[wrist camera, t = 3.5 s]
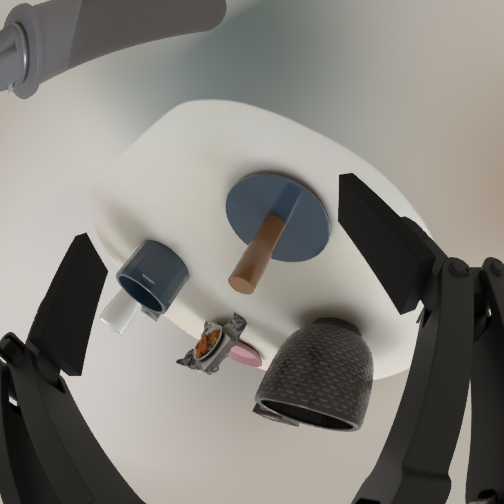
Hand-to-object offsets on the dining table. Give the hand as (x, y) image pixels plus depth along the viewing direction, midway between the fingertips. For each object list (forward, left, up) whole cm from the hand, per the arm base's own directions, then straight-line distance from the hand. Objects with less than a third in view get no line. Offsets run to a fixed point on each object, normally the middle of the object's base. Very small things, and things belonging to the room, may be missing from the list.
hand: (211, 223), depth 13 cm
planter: (+28, -22, -15) cm, 38 cm away
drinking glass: (-4, -54, -15) cm, 56 cm away
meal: (+16, -46, -15) cm, 50 cm away
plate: (+27, -56, -15) cm, 63 cm away
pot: (-2, -39, -14) cm, 41 cm away
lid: (+6, -11, -14) cm, 18 cm away
